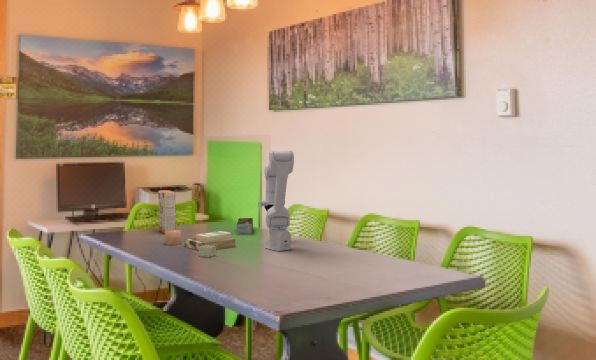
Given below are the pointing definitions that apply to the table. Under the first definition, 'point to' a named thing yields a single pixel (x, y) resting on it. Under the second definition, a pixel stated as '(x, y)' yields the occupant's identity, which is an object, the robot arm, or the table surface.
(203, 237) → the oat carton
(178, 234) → the block
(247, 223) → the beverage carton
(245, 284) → the table surface
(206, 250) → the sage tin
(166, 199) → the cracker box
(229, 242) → the display bay
